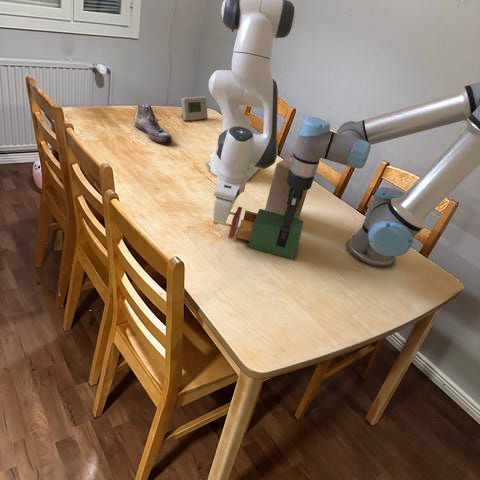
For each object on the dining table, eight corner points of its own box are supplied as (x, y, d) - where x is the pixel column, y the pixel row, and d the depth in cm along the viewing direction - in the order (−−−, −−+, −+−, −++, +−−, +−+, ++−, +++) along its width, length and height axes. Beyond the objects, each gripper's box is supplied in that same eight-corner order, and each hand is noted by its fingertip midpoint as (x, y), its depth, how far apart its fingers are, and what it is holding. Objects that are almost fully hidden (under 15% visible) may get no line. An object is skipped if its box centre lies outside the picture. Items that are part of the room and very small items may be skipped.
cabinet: (247, 246, 136) (253, 222, 131) (253, 231, 144) (259, 208, 140) (292, 259, 135) (300, 235, 130) (296, 243, 143) (303, 220, 139)
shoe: (175, 145, 192) (178, 118, 185) (151, 146, 186) (153, 118, 180) (154, 124, 209) (157, 98, 202) (132, 124, 203) (133, 97, 197)
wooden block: (287, 226, 151) (303, 173, 140) (262, 215, 155) (276, 162, 144) (299, 217, 159) (315, 166, 148) (275, 206, 162) (289, 155, 152)
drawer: (210, 232, 137) (214, 213, 133) (217, 219, 144) (221, 201, 141) (269, 249, 135) (274, 230, 132) (273, 235, 143) (278, 217, 139)
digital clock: (183, 121, 220) (185, 100, 214) (174, 115, 226) (177, 94, 220) (210, 121, 229) (214, 100, 223) (202, 115, 235) (205, 95, 229)
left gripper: (228, 167, 141) (221, 204, 148) (212, 193, 124) (205, 234, 131) (247, 172, 140) (239, 209, 148) (234, 199, 123) (226, 240, 130)
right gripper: (293, 156, 136) (275, 217, 147) (284, 184, 116) (265, 252, 128) (316, 162, 135) (297, 223, 147) (311, 192, 116) (290, 259, 128)
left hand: (223, 221), depth 139 cm, fingers closed, pressing on drawer
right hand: (282, 237), depth 138 cm, fingers closed on cabinet, 10 cm apart
